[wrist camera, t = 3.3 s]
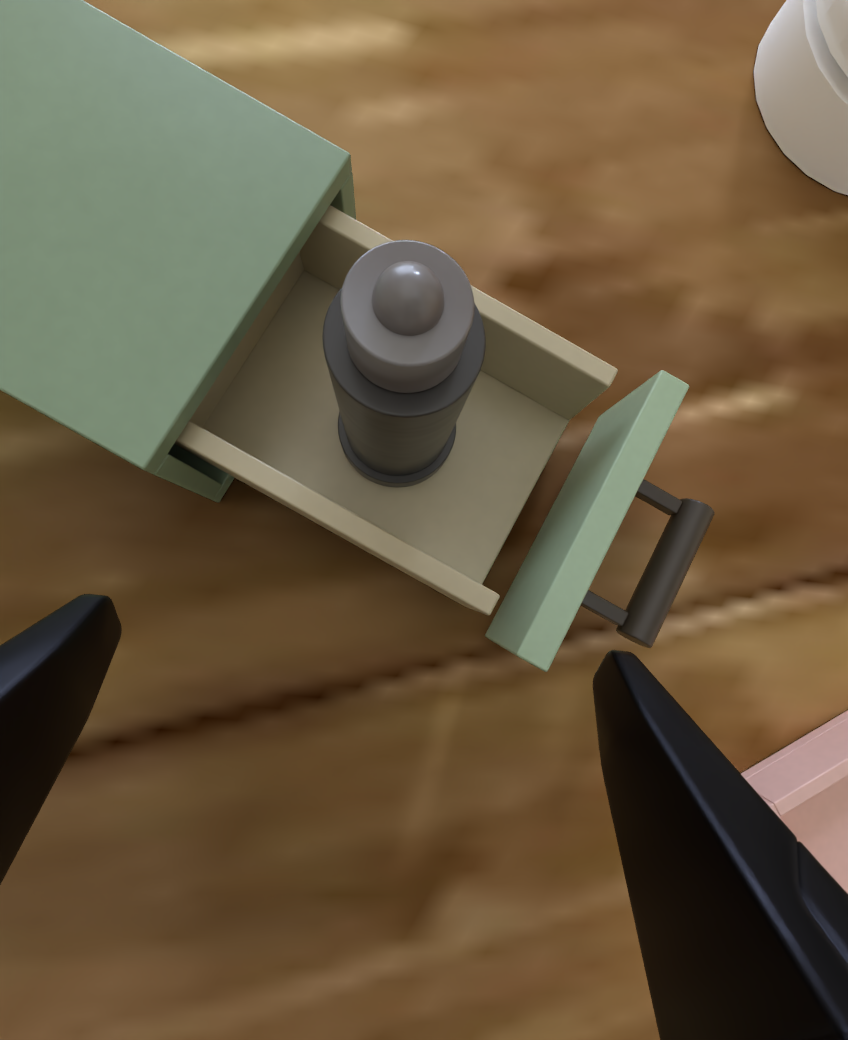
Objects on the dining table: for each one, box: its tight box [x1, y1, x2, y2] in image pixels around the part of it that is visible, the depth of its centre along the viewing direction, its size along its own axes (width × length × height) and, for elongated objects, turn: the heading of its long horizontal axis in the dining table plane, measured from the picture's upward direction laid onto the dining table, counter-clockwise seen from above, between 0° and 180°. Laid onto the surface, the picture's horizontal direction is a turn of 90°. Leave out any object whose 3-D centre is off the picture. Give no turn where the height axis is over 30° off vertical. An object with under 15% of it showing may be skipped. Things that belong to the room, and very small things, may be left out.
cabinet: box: [0, 0, 356, 503], centre depth 19 cm, size 18×13×7 cm
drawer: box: [174, 205, 714, 672], centre depth 20 cm, size 21×11×5 cm, turn 61°
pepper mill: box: [322, 240, 486, 488], centre depth 16 cm, size 5×5×11 cm
